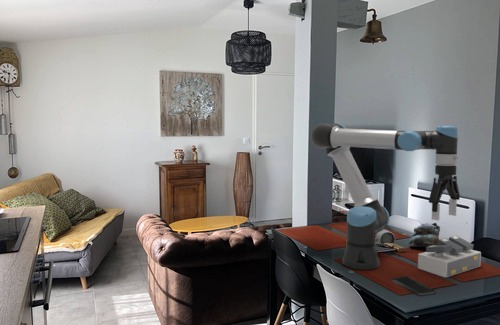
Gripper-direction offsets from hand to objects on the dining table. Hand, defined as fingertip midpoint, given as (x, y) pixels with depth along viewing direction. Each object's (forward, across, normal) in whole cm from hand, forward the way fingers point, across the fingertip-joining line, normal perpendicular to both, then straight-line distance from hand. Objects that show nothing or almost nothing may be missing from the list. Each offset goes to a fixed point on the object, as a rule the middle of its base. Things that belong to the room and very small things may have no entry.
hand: (444, 217), depth 156 cm
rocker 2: (+12, +5, 0) cm, 13 cm away
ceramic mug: (+22, +10, +34) cm, 42 cm away
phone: (+22, -26, -2) cm, 34 cm away
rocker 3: (+12, +12, -1) cm, 17 cm away
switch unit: (+21, +5, 0) cm, 22 cm away
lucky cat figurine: (+22, +22, +20) cm, 37 cm away
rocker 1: (+12, -3, 0) cm, 13 cm away
